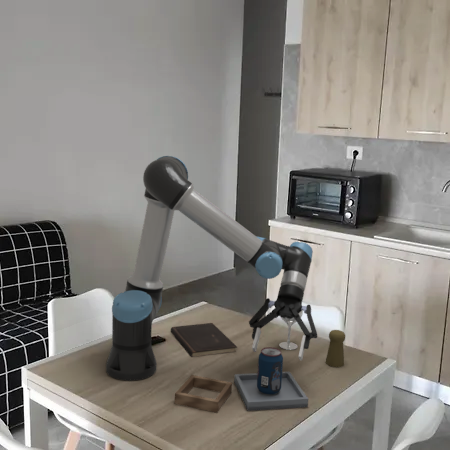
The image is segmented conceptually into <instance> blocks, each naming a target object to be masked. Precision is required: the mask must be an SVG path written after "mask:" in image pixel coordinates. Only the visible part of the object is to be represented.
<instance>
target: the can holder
mask: <svg viewBox="0 0 450 450" xmlns="http://www.w3.org/2000/svg"><path fill="white" fill-rule="evenodd" d="M193 388H198V389H202V390H207V391H212V392H216V393H217V392H218V393H219V394H218V395H217V396H216V398H210V397H205V396H201V395H200V396H199V395H196V394H195V395H194V394H190V392H191V391H192V390H193ZM232 393H233V382H229V381H226V380H220V379H215V378H210V377H205V376H200V375H194V374H191V375H190V376H189V377H188V378H187V379H186V380H185V381H184V383H183V384H182V385H181V386H180V387H179V388H178V389H177V390H176V391H175V392H174V404H175V405H180V406H184V407H187V408H193V409H197V410H203V411H207V412H212V413H213V412H214V413H217V414H218V413H219V412H220V410H221V409H222V407H223V406H224V405H225V403H226V401H227V400H228V399H229V397H230V395H232Z"/></svg>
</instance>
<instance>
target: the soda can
mask: <svg viewBox="0 0 450 450" xmlns="http://www.w3.org/2000/svg"><path fill="white" fill-rule="evenodd" d="M283 365H284V356H283V354H282V350H281V349H279V348H277V347H269V346H268V347H267V346H266V347H263V348H262V349H261V350H260V353H259V354H258V361H257V373H258V375H257V388H258V390H259V391H260V392H261V393H262V394H265V395H275V394H277V393H278V392H279V391H280V389H281V384H282V372H283V367H284V366H283Z"/></svg>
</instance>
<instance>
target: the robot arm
mask: <svg viewBox="0 0 450 450" xmlns="http://www.w3.org/2000/svg"><path fill="white" fill-rule="evenodd" d="M142 178H143V185H144V189H145V190H144V195H143V197H144V198H145V200H146V201H147V205H146V211H145V214H144V220H143V225H142V230H141V235H140V240H139V244H138V250H137V256H136V259H135V265H134V271H133V274H131V275H130V276H128V277H127V279H126V284H125V288H124V289H125V290H124V291H123V292H120V293H118V294H117V295H116V296H115V297H114V298H113V300H112V306H111V313H112V318H111V319H112V323H111V325H112V326H111V327H112V329H111V330H112V331H111V332H112V336H111V337H112V338H111V339H112V342H111V343H112V346H111V349H110V352H109V354H108V357H107V360H106V363H105V364H106V365H105V369H106V370H105V372H106V373H107V375H108V376H109V377H111V378H114V379H116V380H118V381H119V380H120V381H129V382H130V381H139V380H140V381H141V380H145V379H148V378H149V377H152V376H153V375H154V374H155V373H156V372H157V363H158V362H157V360H156V355H155V353H154V349H153V346H152V325H153V322H154V320H155V318H156V316H157V314H158V312H159V310H160V308H161V306H162V302H163V301H162V295H163V290H164V283H163V281H162V280H161V276H162V271H163V268H164V267H163V266H164V261H165V257H166V252H167V248H168V242H169V238H170V234H171V233H170V232H171V228H172V223H173V218H174V215H175V211H178V212H179V213H181V214H182V215H184V216H185V217H186V218H188V219H189V220H191V221H192V222H193V223H195V224H196V225H198V226H199V227H200V228H201V229H202V230H204V231H205V232H207V234H209V235H210V236H212V237H213V238H214V239H216V240H217V241H219V242H220V243H221V244H222V245H224V246H225V247H227V248H228V249H229V250H231V251H232V252H233V253H234V254H236V255H237V256H238V257H240V258H241V259H242V260H244V261H245V262H246V263H248V264H249V265H250V266H252V267H253V268H254V269H255V270H256V273H257V274H258V275H259V276H260V277H261V278H264V279H266V280H267V279H269V280H271V279H274V278H276V277H278V276H279V275H280V273H281V272H282V271H283V273H282V277H281V280H280V281H281V282H280V287H279V289H278V293H277V298H276V300H270V298H268V297H267V298H266V299H265V301H264V303H263V305H262V306H261V307H260V308H259V309H258V310H257V312H256V313H255V314H253V316H252V317H251V318H250V320H249V321H248V325H249V327H250V328H251V329H252V334H251V339H252V340H253V342H252V346H251V350H252V351H253V352H254V353H256V352H257V350H258V346H259V342H260V339H261V333H262V330H261V329H262V328H264V327H265V326H266V325H268V324H269V323H270V322H271V321H273V320H274V319H277V318H278V317H280V316H281V317H282V318H289V319H291V318H295V320H296V321H297V322H296V323H297V325H298V326H299V328H300V330H301V332H302V333H303V335H302V338H301V342H300V349H299V353H298V359H299V361H303V357H304V355H305V350H308V349H309V348H310V343H311V339H317V338H318V332H317V328H316V325H315V323H314V319H313V316H312V306H311V304H307V305H303V304H302V303H303V299H304V295H305V290H306V285H307V281H308V276H309V273H310V269H311V264H312V258H313V253H314V252H313V248H312V247H311V246H310V245H309V243H307V242H304V241H301V242H299V241H294V242H291V244H290V245H286V244H282V243H280V242H277V241H273V240H271V239H268V238H267V237H260V236H258V235H257V236H256V235H255V234H253V233H252V232H251V231H249V230H248V229H247V228H246V227H244V225H242V224H240V223H239V222H238V221H236V220H235V219H234V218H233V217H231V216H229V214H227V213H226V212H224V211H223V210H222V209H221V208H219V207H218V206H217V205H216V204H214V203H212V201H210V200H209V199H207V197H205V196H203V195H202V194H201V193H199V192H198V191H197V190H196V189H194V184H193V182H192V181H190V180H188V179H189V172H188V168H187V165H185V163H184V161H182V160H181V159H180V158H178V157H175V156H172V155H171V156H170V155H164V156H160V157H158V158H156V159H155V160H153V161H151V162H150V163H149V164H148V165H146V167H145V169H144V171H143V177H142ZM273 306H274V308H273V309H272V310H271V311H270V312H269V313H268V314H266V313H267V312H268V311H269V309H271V308H272V307H273ZM302 310H303V313H304V314H305V315H306V317H307V321H308V324H309V328H310V331H309V329H308V327H307V325H306V324H305V323H304V321H303V320H302V317H301V318H300V316H299V314H298V313H300V312H301V311H302ZM265 314H266V315H265ZM281 317H280V318H281Z"/></svg>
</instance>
